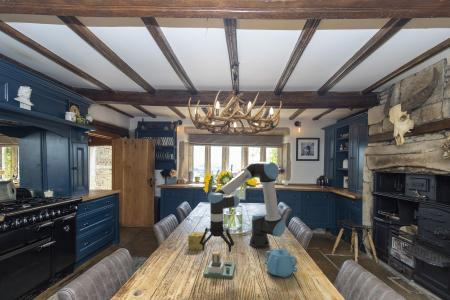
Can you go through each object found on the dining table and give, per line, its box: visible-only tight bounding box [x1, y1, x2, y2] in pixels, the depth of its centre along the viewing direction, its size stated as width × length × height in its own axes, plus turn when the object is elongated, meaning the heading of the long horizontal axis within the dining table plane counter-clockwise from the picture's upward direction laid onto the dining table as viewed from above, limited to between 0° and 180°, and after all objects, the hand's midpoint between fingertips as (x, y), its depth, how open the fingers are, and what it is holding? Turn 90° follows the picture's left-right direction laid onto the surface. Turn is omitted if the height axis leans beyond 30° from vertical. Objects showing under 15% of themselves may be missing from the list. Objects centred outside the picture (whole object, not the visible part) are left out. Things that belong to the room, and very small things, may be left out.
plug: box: [211, 249, 222, 267], centre depth 142 cm, size 4×6×10 cm
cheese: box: [187, 231, 207, 251], centre depth 181 cm, size 10×11×10 cm
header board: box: [203, 259, 236, 279], centre depth 145 cm, size 16×18×4 cm
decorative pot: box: [264, 248, 298, 279], centre depth 142 cm, size 16×16×14 cm
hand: (216, 256), depth 143 cm, fingers open, 13 cm apart
